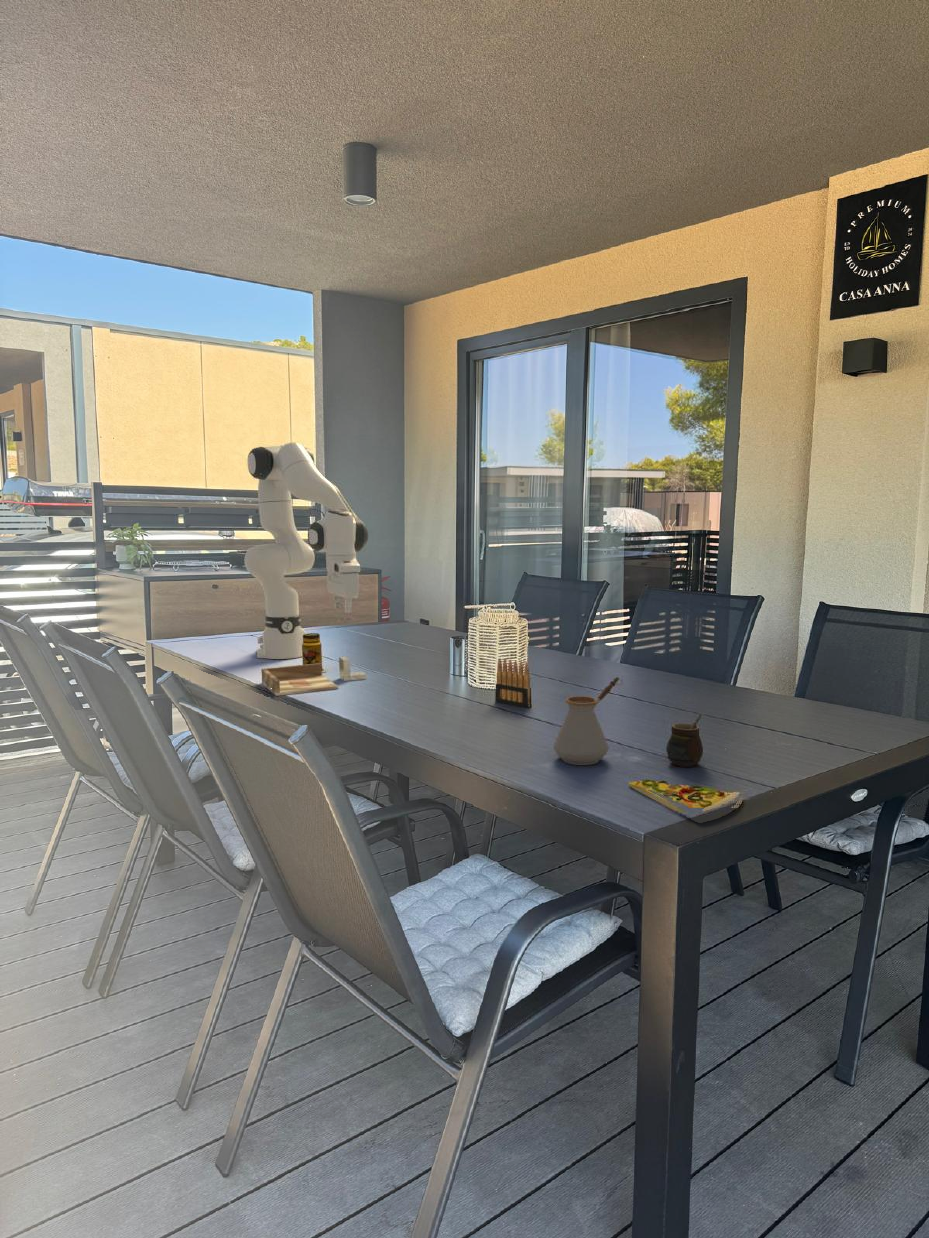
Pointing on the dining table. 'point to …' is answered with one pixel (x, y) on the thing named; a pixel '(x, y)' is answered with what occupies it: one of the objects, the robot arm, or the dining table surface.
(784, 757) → the dining table surface
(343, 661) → the bracket
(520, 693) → the ammunition clip
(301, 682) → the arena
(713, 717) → the dining table surface
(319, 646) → the condiment
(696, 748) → the mate gourd
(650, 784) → the pizza slice
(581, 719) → the coffee pot
